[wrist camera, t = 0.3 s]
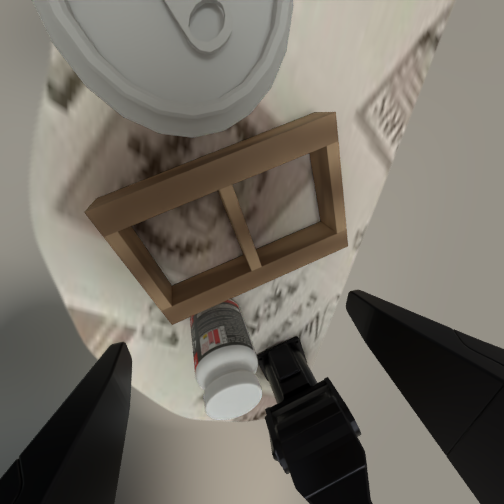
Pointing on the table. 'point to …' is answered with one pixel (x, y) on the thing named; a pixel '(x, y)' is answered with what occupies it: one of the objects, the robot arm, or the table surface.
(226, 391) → the pill bottle
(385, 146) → the table surface
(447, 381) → the robot arm
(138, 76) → the can
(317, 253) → the wooden divided tray
